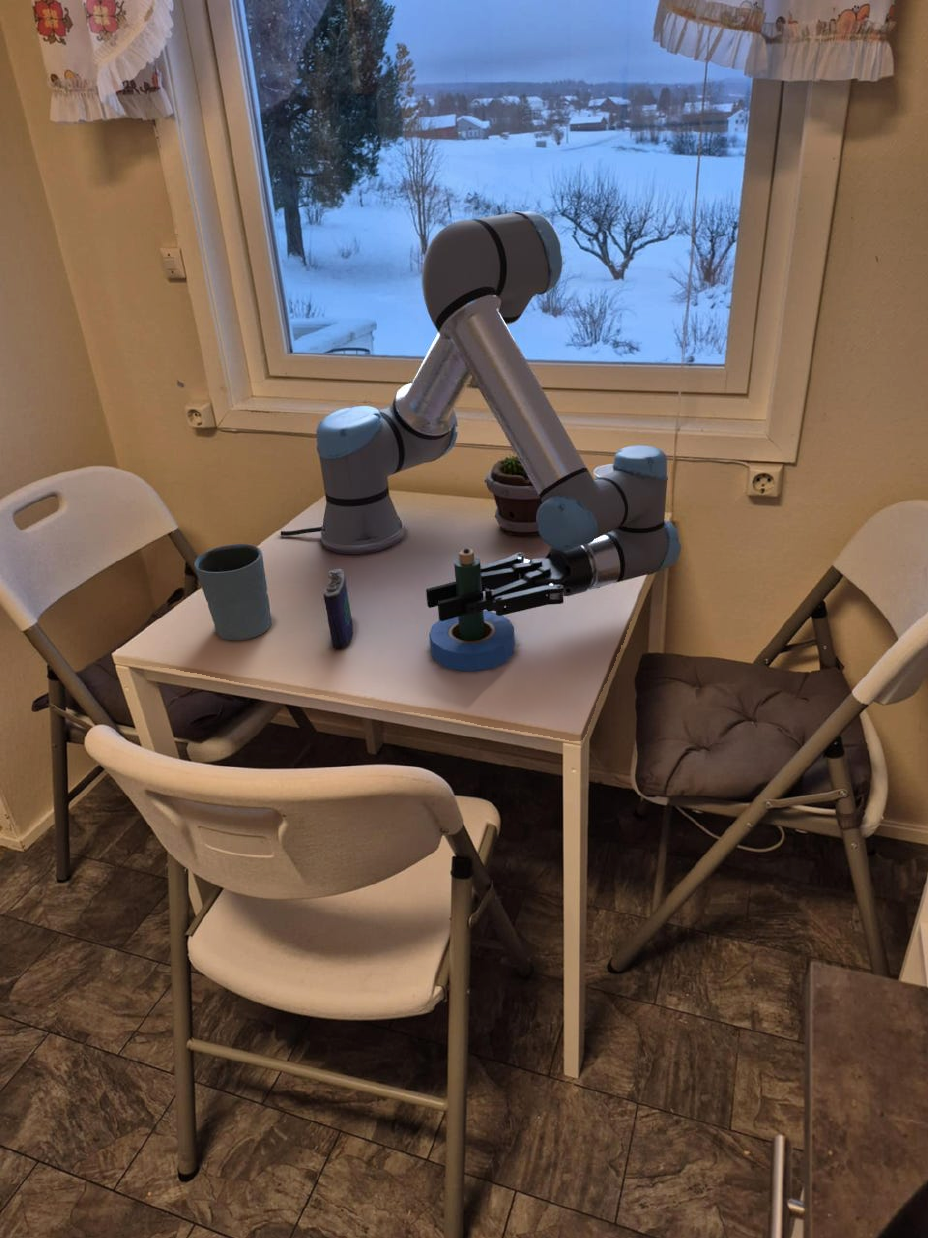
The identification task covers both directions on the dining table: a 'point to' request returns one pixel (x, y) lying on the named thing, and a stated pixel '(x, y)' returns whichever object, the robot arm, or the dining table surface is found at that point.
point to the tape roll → (473, 644)
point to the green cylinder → (465, 584)
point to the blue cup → (235, 590)
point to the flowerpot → (514, 497)
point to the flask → (338, 610)
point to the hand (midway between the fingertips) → (433, 604)
